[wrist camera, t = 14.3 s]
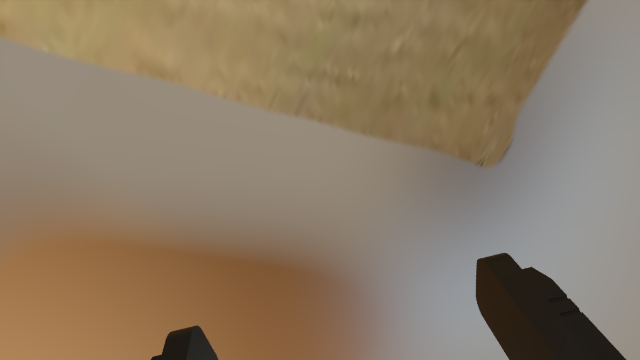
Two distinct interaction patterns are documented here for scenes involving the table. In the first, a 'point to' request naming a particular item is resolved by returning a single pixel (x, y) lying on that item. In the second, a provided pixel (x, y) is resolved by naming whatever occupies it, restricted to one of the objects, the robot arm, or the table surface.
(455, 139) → the table surface
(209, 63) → the table surface
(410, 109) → the table surface
